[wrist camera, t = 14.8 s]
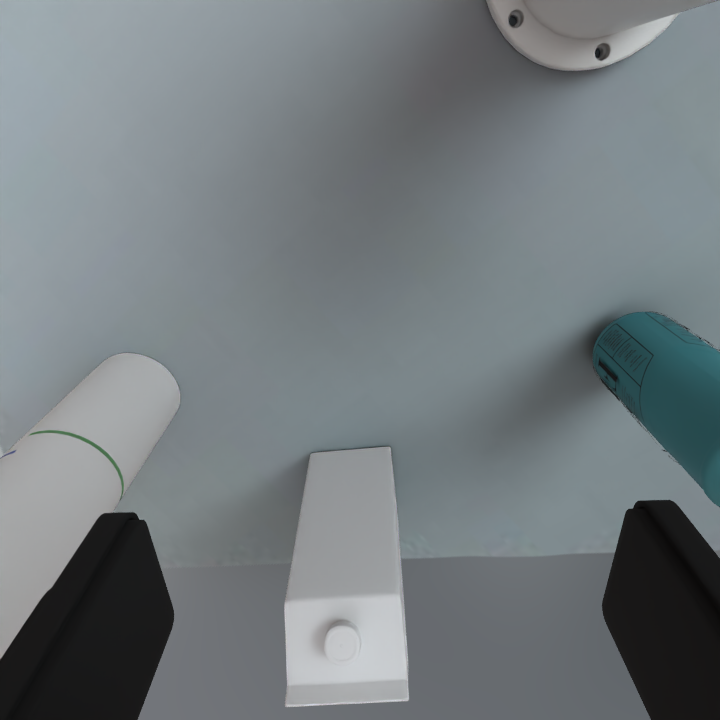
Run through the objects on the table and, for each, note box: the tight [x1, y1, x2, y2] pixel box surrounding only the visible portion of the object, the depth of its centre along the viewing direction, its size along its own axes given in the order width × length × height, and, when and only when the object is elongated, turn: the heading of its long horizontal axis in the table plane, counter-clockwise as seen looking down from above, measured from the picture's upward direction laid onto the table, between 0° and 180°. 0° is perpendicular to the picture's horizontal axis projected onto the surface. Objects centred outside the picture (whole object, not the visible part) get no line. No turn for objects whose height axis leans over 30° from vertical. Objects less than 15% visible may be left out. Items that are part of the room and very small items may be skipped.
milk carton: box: [284, 447, 409, 707], centre depth 37 cm, size 7×7×19 cm
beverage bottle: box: [593, 312, 720, 507], centre depth 29 cm, size 6×7×20 cm
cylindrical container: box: [0, 353, 181, 659], centre depth 30 cm, size 7×7×25 cm
